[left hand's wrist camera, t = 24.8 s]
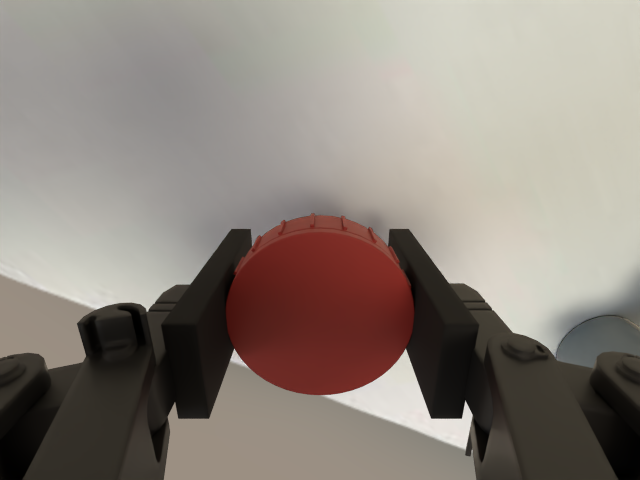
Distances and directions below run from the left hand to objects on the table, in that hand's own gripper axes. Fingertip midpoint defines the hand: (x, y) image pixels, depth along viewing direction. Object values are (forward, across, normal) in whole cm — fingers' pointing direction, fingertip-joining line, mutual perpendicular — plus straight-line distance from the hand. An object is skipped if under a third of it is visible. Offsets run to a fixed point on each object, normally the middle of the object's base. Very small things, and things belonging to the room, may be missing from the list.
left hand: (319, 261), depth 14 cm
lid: (-4, 0, 0) cm, 4 cm away
